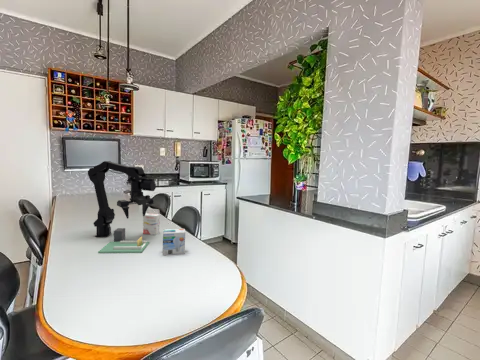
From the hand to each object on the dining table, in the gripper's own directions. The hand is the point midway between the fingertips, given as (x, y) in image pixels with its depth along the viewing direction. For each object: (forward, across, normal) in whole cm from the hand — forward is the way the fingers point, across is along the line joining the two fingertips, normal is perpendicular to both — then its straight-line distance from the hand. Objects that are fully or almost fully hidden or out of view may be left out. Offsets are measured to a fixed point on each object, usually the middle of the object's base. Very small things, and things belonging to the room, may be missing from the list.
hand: (135, 217), depth 139 cm
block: (+10, -9, +1) cm, 13 cm away
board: (+12, -10, -10) cm, 19 cm away
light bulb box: (+12, +4, -32) cm, 34 cm away
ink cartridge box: (+12, +11, +3) cm, 17 cm away
